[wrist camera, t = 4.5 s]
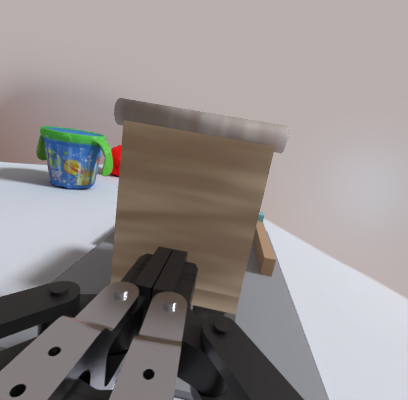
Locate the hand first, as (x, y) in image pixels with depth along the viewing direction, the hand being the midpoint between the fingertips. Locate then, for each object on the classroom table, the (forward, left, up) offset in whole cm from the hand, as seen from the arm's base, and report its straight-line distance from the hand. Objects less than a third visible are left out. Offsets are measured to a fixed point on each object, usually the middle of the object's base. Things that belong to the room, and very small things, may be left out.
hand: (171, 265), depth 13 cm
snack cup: (-36, +22, -7) cm, 43 cm away
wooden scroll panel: (-2, +7, -7) cm, 10 cm away
